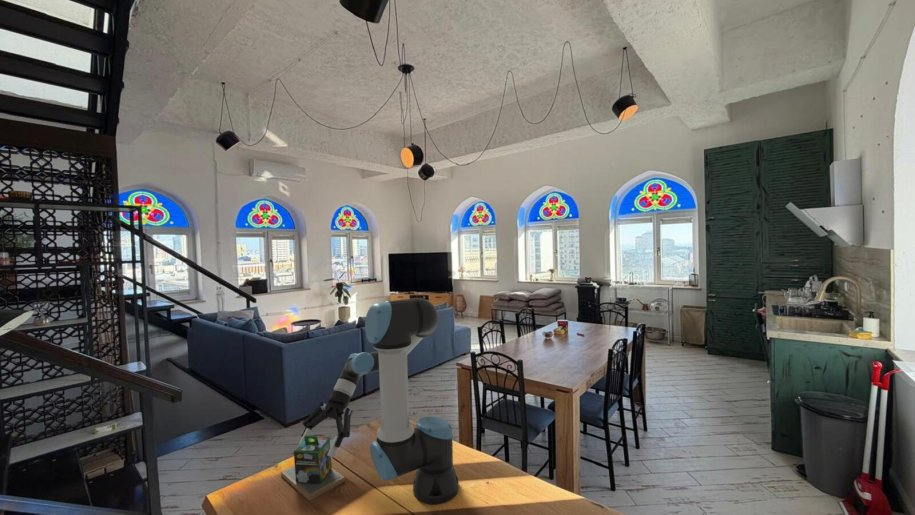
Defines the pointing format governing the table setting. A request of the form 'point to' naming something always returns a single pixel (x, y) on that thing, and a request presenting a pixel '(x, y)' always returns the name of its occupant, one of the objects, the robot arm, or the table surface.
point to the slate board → (313, 489)
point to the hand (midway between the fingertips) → (314, 452)
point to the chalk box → (312, 459)
